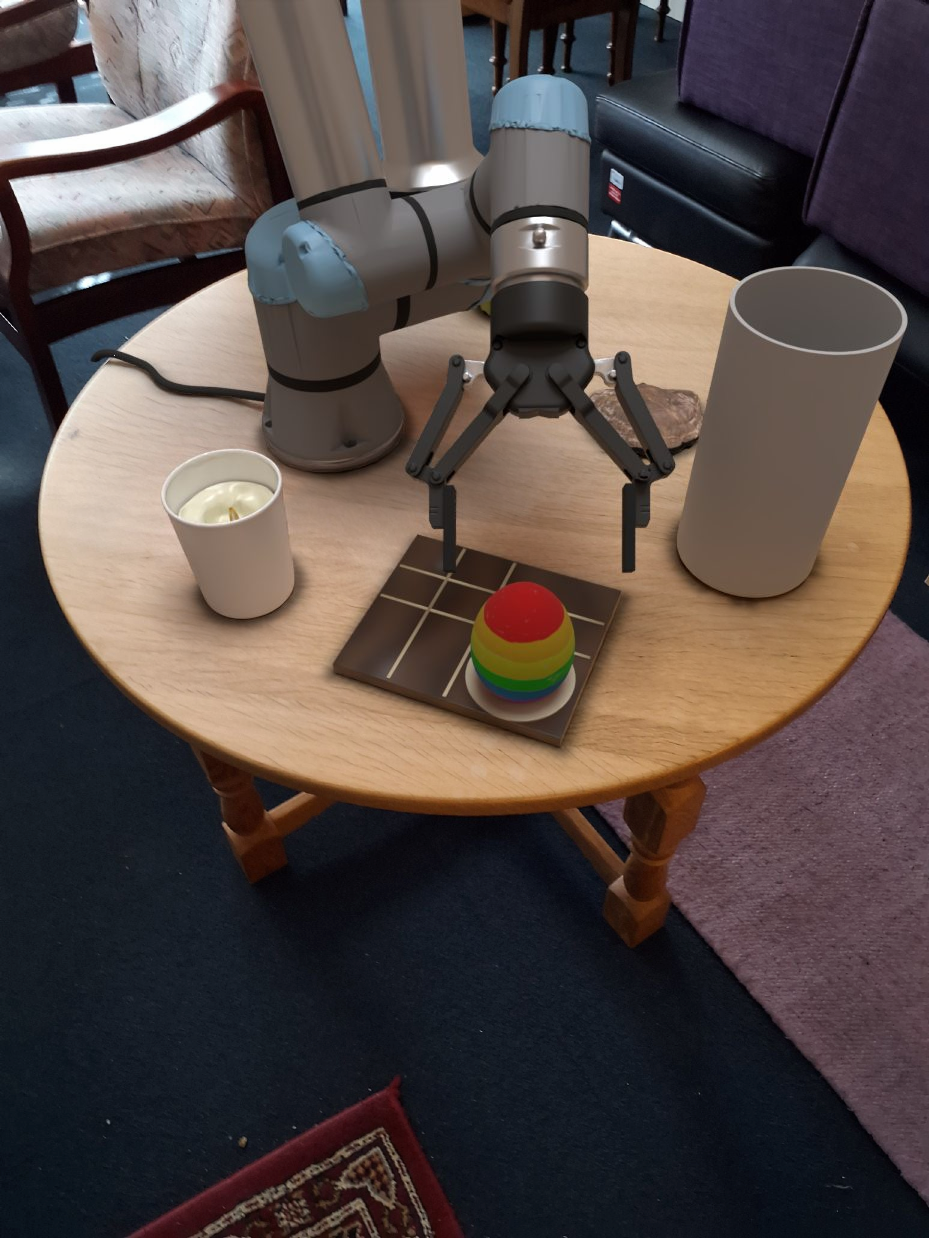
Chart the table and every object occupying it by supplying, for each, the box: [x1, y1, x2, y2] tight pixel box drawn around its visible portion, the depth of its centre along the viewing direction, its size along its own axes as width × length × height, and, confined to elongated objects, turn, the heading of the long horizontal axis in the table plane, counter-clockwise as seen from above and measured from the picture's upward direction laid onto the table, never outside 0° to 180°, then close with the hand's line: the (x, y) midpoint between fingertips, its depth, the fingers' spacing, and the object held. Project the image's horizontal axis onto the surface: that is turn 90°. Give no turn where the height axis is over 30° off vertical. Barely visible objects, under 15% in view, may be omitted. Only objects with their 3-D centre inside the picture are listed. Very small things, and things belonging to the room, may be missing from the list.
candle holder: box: [160, 448, 296, 620], centre depth 78 cm, size 10×10×12 cm
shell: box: [588, 382, 704, 455], centre depth 96 cm, size 12×13×4 cm
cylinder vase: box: [676, 265, 908, 599], centre depth 75 cm, size 12×12×25 cm
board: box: [332, 534, 622, 748], centre depth 77 cm, size 20×17×1 cm
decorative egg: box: [470, 582, 575, 703], centre depth 69 cm, size 8×8×10 cm
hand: (538, 572), depth 68 cm, fingers open, 13 cm apart
